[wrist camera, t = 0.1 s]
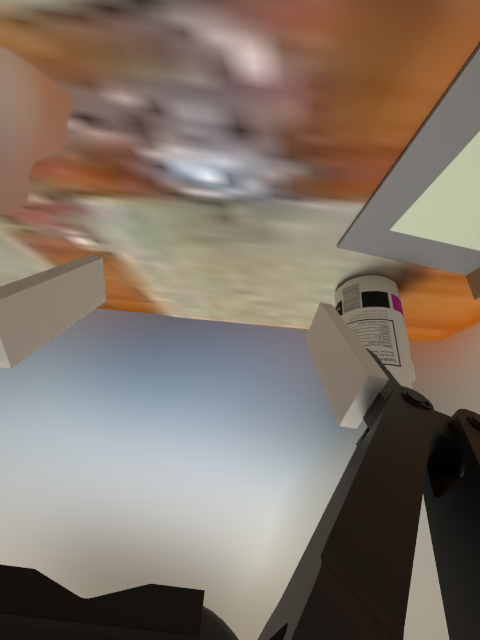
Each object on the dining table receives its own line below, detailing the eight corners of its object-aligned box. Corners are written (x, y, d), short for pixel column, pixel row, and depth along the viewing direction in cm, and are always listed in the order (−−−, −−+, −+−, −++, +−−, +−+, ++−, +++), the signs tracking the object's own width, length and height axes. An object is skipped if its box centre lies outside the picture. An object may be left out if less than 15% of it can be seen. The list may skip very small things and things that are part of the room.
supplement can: (411, 281, 32) (437, 393, 25) (367, 308, 39) (378, 401, 33) (359, 265, 31) (372, 378, 24) (324, 296, 38) (326, 390, 31)
